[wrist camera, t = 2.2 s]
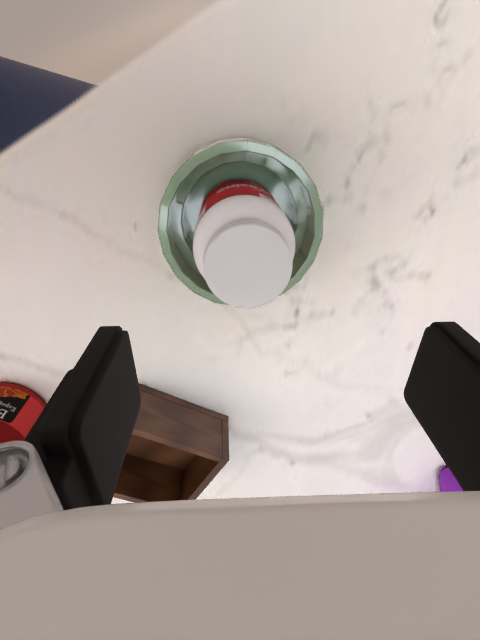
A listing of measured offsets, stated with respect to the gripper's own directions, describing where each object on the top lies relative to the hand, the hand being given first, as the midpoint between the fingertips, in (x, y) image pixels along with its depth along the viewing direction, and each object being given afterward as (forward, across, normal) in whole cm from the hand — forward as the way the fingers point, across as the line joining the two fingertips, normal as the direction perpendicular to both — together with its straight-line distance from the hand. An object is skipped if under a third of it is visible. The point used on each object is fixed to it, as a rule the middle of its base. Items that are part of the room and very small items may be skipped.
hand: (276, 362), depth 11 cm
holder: (+19, +9, +25) cm, 33 cm away
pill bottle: (+19, +1, 0) cm, 19 cm away
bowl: (+19, +1, 0) cm, 19 cm away
